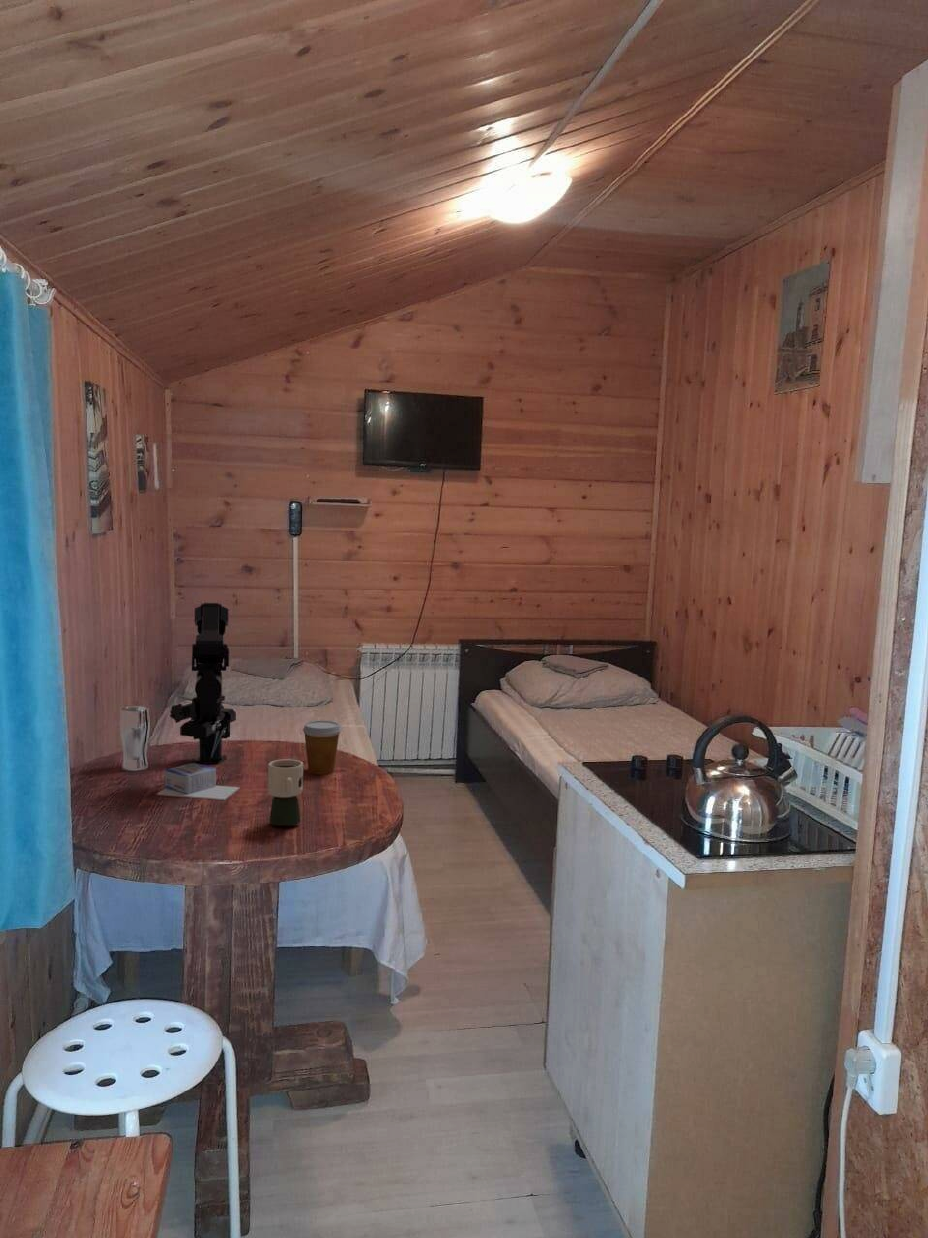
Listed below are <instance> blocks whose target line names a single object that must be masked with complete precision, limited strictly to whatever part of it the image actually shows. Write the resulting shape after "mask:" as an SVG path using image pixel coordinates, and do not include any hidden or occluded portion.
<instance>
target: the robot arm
mask: <svg viewBox="0 0 928 1238" xmlns="http://www.w3.org/2000/svg"><path fill="white" fill-rule="evenodd" d="M193 622H194V626H195V627H197V630H196V631H197V633H198V634H197V635H196V636H195V643H192V645H191V646H192V649H191V653H192V654H191V672H196V681H195V687H194V691H195V694H196V695H195V696H194V697H193V698H192V699H191V703H190V702H189V703H186V704H185V705H184V704H181V703H178V704H174V705H172V706H171V709H170V714H169V717H170V718H171V719H172V720H174V722H175V724H178V723H180V722H181V721H184V720H187V719H189V720H188V721H186V722H184V723H183V724H182V725H180V726H179V736H180V737H193V740H198V742H199V743H198V746H199V747H198V757H196V759H194V760H193V763H197V764H200V763H201V764H212V765H213V764H214V765H217V764H220V763H221V762H223V761H224V760H226V759H227V758H228V756H227V755H223V739H226V740H227V739H228V738H230V737H231V723H234V722H235V721H236V720H237V712H236V711H235V710H234V709H233V708H225V707H224V705H223V701H225V700H226V696H225V695H223V672H225V671H226V672H227V667H229V668H230V648H229V647H228V645H227V643H224V635H225V634H226V628H227V627H229V608H227V607H225V606H224V605H223V606H222V603H219V602H203V603H201V604H200V606H197V607H195V608H194V621H193Z"/></svg>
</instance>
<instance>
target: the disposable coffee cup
mask: <svg viewBox="0 0 928 1238" xmlns="http://www.w3.org/2000/svg"><path fill="white" fill-rule="evenodd" d="M341 731H342V728H341V725H340V722H339V723H338V722H336V721H332V720H313V721H308V722H306V723H305V724H304V727H303V728H302V732H303V734H304V739H305V740H304V741H305V750H306V760H307V768H308V773H310V774H313V775H329V774H332V773H334V770H335V764H336V758H337V757H336V756H337V750H338V744H339V737H340V734H341Z"/></svg>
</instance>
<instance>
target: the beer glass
mask: <svg viewBox="0 0 928 1238" xmlns="http://www.w3.org/2000/svg"><path fill="white" fill-rule="evenodd" d="M119 715H120V716H119V717H120V718H119V733H120V738H121V739H120V740H121V745H122V751H123V757H122V758H123V760H122V765H121V769H122V770H123V771H127V772H137V771H144V770H146V769H148V768H149V764H148V758H147V748H148V742H149V735H150V730H151V727H150V726H151V724H150V723H151V722H150V721H151V720H150V709H149V706H144V705H129V706H124V707H121V708H120V714H119Z"/></svg>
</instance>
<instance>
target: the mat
mask: <svg viewBox="0 0 928 1238" xmlns="http://www.w3.org/2000/svg"><path fill="white" fill-rule="evenodd" d="M239 790H240V787H239V786H238V787H237V786H226V785H216V786H215V787H212V788H208V789H205V790H201V791H198V792H195V793H191V794H185V793H182V792H178V791H175V790H172V789H168V788H165V787H164V788H163V789H162V790H160V791H158V792H156V795H157V796H163V797H164V796H167V797H177V798H178V797H179V798H191V799H202V800H218V801H226V800H227V799H228V798H231V796H232V795H233V794H235V793H236V792H237V791H239Z"/></svg>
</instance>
